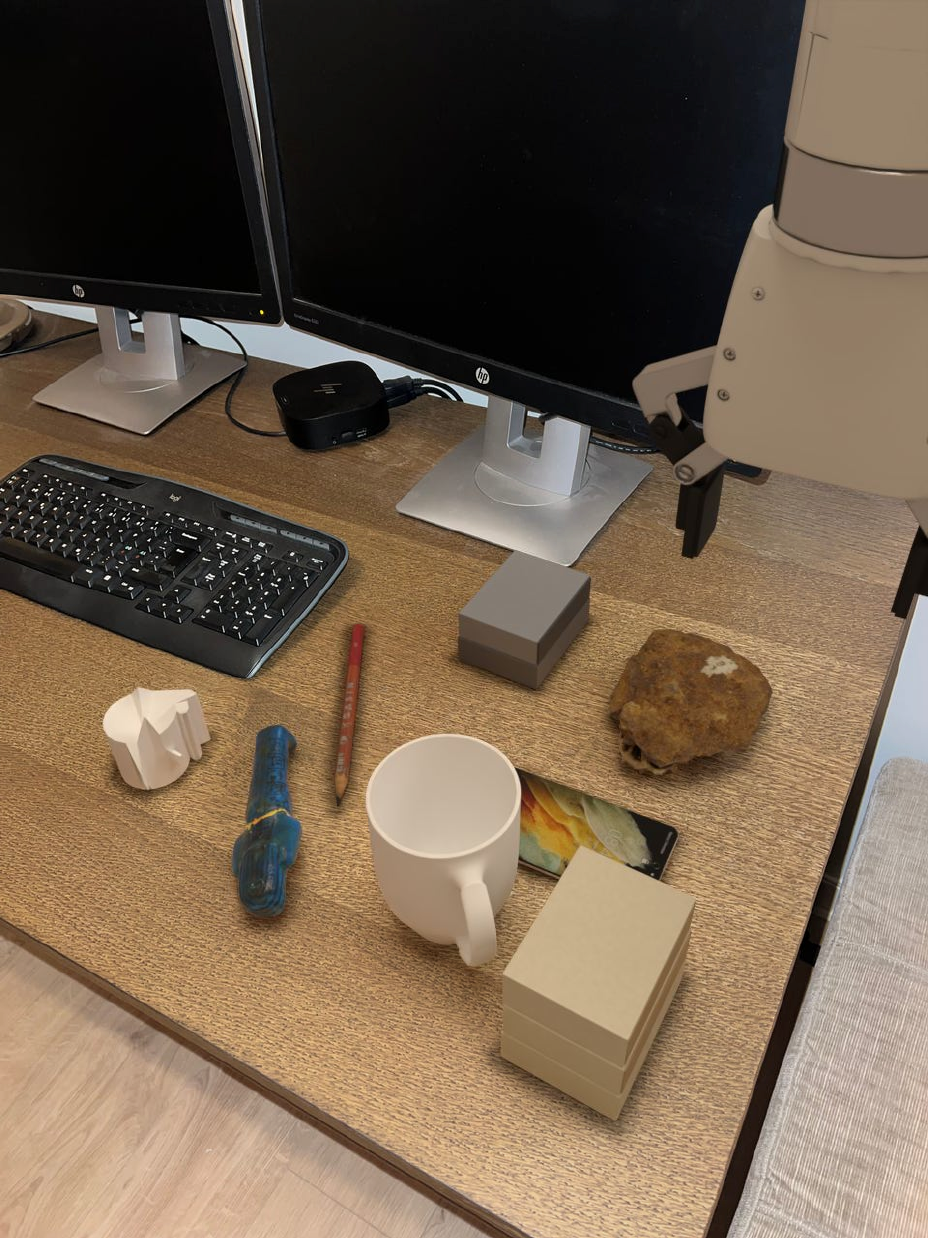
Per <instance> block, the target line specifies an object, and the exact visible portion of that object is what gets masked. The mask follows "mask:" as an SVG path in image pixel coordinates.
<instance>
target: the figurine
mask: <svg viewBox="0 0 928 1238" xmlns="http://www.w3.org/2000/svg"><path fill="white" fill-rule="evenodd" d="M297 745H298V743H297V739H296V738H295V736H294V735H293V734H292V732H290V730H289V729H287V727H285V726H284V725H281V724H273V725H269V726H267V727H264V728H262V729H260V730H259V731H258V733H257V734H256V739H255V748H254V757H253V765H252V775H251V780H250V784H249V790H248V796H247V801H246V808H245V828H244V830H243V832H242V833H240V835H238V836H237V838H236V839H235V840H234V843H233V845H232V855H231V858H232V859H231V863H232V864H231V866H232V874H233V876H234V878H235V879H236V880H237V896H238V901H239V904H240V905H241V907H242V909H243V910H245V911H246V912H247V913H248V914H251V915H253V916H255V917H258V918H271V917H275V916H278V915H280V914H282V912H283V911H284V910H285V908H286V900H287V898H286V897H287V879H288V878H287V877H288V872H289V869H290V868H292V866H293V865H294V864H295V863H296V860H297V857H298V854H299V852H300V851H299V850H300V846H301V840H302V836H303V826H302V823H301V822H300V820H298V819H296V818H294V813H293V812H294V811H293V803H292V797H291V794H290V789H289V785H288V774H289V773H288V772H289V763H290V753H292V752H294V750H296V748H297Z"/></svg>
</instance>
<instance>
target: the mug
mask: <svg viewBox="0 0 928 1238" xmlns="http://www.w3.org/2000/svg"><path fill="white" fill-rule="evenodd" d="M514 767H515V766H514V765H513V764H512V762H511V761H510V759H509V758H508V757H507V756H506V755H505V754H504V753H503V752H502V751H501V750H499V749H498V748H496V746H494V745H492V744H490V743H489V742H487V741H485V740H482V739H479V738H476V737H473V736H470V735H465V734H459V733H437V734H431V735H426V736H421V737H418V738H415V739H412V740H410V741H408V742H405V743H404V744H402V745H400V746H398V747H397V748H395V749H394V750H392V751H391V752H390V753H388V754H387V755H386V756H385V757H384V758H383V759H381V761H380V763H379V764H377V766H376V768H375V769H374V770H373V772H372V774H371V776H370V778H369V780H368V783H367V786H366V792H365V809H366V817H367V823H368V830H369V838H370V847H371V853H372V860H373V866H374V871H375V872H374V873H375V876H376V880H377V884H378V887H379V890H380V893H381V896H382V898H383V899H384V901H385V903H386V905H387V906H388V908H389V909H390V910H391V912H392V913H393V914H394V915H395V917H397V918H398V919H399V920H400V921H401V922H402V923H403V924H405V925H406V926H407V927H408V928H410V929H411V930H413V931H414V932H415V933H417V934H418V935H419V936H420V937H422V938H423V939H425V940H426V941H428V942H430V943H434V944H437V945H446V946H451V945H456V946H457V948H458V949H459V950H458V954H459V955H460V957H461V959H462V960H463V962H464V964H465V965H466V966H468V967H477V966H481V965H485V964H487V963H490V962H491V961H492V960H494V959H495V957H496V955H497V951H498V949H497V947H498V941H497V930H496V923H495V917H496V915H498V913H499V912H500V911H501V910H502V909H503V907H504V905H505V904H506V902H508V901H507V900H508V899H509V897H510V895H511V893H512V891H513V887H514V886H515V885H514V884H515V881H516V877H517V872H518V867H519V866H518V865H519V863H518V857H519V841H520V808H521V785H520V781H519V777H518V774H517V772H516V770H515V768H514Z"/></svg>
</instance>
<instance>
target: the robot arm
mask: <svg viewBox="0 0 928 1238" xmlns="http://www.w3.org/2000/svg"><path fill="white" fill-rule="evenodd" d="M802 19H803V20H802V24H801V30H800V37H799V43H798V49H797V55H796V61H795V68H794V73H793V80H792V85H791V91H790V98H789V103H788V109H787V115H786V120H785V121H786V122H785V128H784V134H783V135H784V136H783V141H782V146H781V152H780V159H779V165H778V171H777V178H776V183H775V191H774V197H773V203H772V204H770V205H767V206H765V207H763V208H762V209H761V210H760V211H759V213H758V214H757V217H756V219H755V220H754V222H753V223H752V226H751V229H750V232H749V233H748V237H747V239H746V242H745V245H744V248H743V251H742V254H741V257H740V259H739V263H738V266H737V270H736V273H735V276H734V279H733V282H732V286H731V290H730V293H729V296H728V300H727V304H726V307H725V308H726V309H725V312H724V316H723V320H722V324H721V327H720V333H719V336H718V339H717V344H716V345H712V346H709V347H705V348H702V349H699V350H695V351H692V352H688V353H685V354H681V355H677V356H673V357H670V358H667V359H663V360H660V361H657V362H653V363H650V364H647V365H645V366H644V367H643V368H642V369H641V370H640V371H639V372H638V374H637V375H636V376H635V377H634V379H633V380H632V385H631V386H632V390H633V392H634V395H635V397H636V399H637V402H638V404H639V406H640V409H641V412H642V414H643V417H644V418H646V420H647V422H648V427H647V431H648V435H649V436H650V438H651V439H652V441H653V442H654V444H655V445H656V446H657V447H658V449H659V450H660V451H661V452H662V453H663V455H664V456H665V457H666V459H667V460H668V461H669V462H670V463H671V465H672V471H671V474H672V477H673V478H674V480H675V481H676V482H678V484H679V493H678V500H677V509H676V515H675V516H676V517H675V526H674V527H675V529H676V530H679V531H683V539H682V546H681V547H682V548H681V557H683V558H686V559H690V560H693V559H694V558H698V557H699V556H700V554H701V553H702V552H703V549H704V548H705V546H706V545H707V543H708V541H709V539H710V538H711V537H712V534H713V533H714V531H715V530H716V528H717V524H718V517H719V510H720V504H721V498H722V493H723V485H724V479H725V473H726V464H724V463H725V462H727V460H731V461H734V462H737V463H740V464H744V465H747V466H751V467H756V468H760V469H763V470H767V471H772V472H776V473H781V474H784V475H787V476H792V477H796V478H800V479H805V480H808V481H813V482H817V483H820V484H821V483H822V484H826V485H830V486H834V487H838V488H843V489H847V490H852V491H856V492H860V493H864V494H867V495H868V494H869V495H873V496H877V497H881V498H882V497H883V498H887V499H892V500H899V501H904V502H905V503H906V505H907V506H908V508H909V510H910V511H911V513H912V515H913V517H914V518H915V520H916V522H917V523H918V527H917V530H916V533H915V535H914V539H913V541H912V543H911V547H910V550H909V553H908V555H907V558H906V562H905V564H904V568H903V572H902V575H901V577H900V581H899V583H898V587H897V591H896V593H895V596H894V600H893V602H892V605H891V609H890V613H892V614H894V616H893V617H895V618H898V619H902V620H907V618H908V615H909V612H910V610H911V607H912V603H913V601H914V597H915V596H916V595H918V596H922V597H926V598H928V0H805V7H804V12H803V18H802ZM705 386H707V390H706V396H705V402H704V410H703V417H702V418H703V419H702V431H700V429H699V428H698V427H697V425H696V424H695V423H694V421H693V420H692V419H691V418H690V416H689V415H688V414H687V413H686V411H685V410H684V409H683V407H681V406H680V405H679V404H678V398H677V395H676V394H677V393H681V392H685V391H690V390H693V389H697V388H701V387H705Z"/></svg>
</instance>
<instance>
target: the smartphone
mask: <svg viewBox="0 0 928 1238" xmlns="http://www.w3.org/2000/svg"><path fill="white" fill-rule="evenodd" d="M514 768H515V770H516V772H517V774H518V777H519V781H520V785H521V808H520V841H519V857H518V864H521V865H523V866H525V867H528V868H531V869H533V870H536V871H538V872H540V873H543V874H545V875H548V876H550V877H551V878H554V879H557V880H559V879H560V878H561V876H562V874H563V873H564V871H565V870H566V868H567V866H568V865H569V863H570V861H571V860H572V858H573V856H574V855H575V853H576V851H577V850H578V848H579V846H580V845H581V846H583V847H586V848H588V849H590V850H592V851H594V852H597V853H599V854H601V855H603V856H605V857H608V858H610V859H612V860H614V861H616V862H619V863H621V864H623V865H625V866H627V867H629V868H632V869H634V870H636V871H638V872H640V873H643V874H645V875H647V876H649V877H651V878H654V879H656V880H658V881H660V882H661V880H662V877H663V875H664V872H665V870H666V869H667V866H668V863H669V861H670V859H671V857H672V855H673V852H674V851H675V847H676V846H677V844H678V841H679V832H678V830H677V829H676V828H675V827H674V826H672V825H670V824H667V823H664V822H662V821H659V820H657V819H654V818H651V817H649V816H646V815H643V814H641V813H637V812H635V811H632V810H630V809H627V808H624V807H622V806H619V805H617V804H614V803H611V802H610V801H609V802H608V801H606V800H603V799H601V798H599V797H595V796H593V795H591V794H587V793H585V792H582V791H580V790H577V789H574V788H572V787H569V786H566V785H563V784H560V783H559V782H558V783H557V782H556V781H553V780H550V779H547V778H545V777H542V776H539V775H537V774H534V773H531V772H529V771H526V770H523V769H521V768H518V767H516V766H514Z"/></svg>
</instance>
